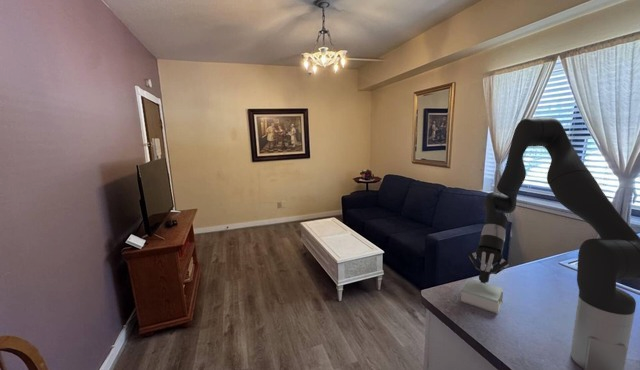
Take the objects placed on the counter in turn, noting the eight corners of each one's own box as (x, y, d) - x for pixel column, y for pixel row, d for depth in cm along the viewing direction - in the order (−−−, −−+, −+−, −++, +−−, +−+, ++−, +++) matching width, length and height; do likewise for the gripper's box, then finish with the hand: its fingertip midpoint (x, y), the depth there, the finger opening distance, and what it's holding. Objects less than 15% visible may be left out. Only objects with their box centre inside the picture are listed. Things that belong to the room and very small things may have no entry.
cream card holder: (502, 301, 92) (503, 290, 92) (497, 314, 86) (498, 303, 85) (467, 289, 100) (467, 280, 99) (460, 301, 93) (460, 290, 93)
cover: (502, 290, 92) (502, 288, 92) (497, 303, 85) (497, 300, 85) (468, 280, 99) (468, 278, 99) (461, 291, 92) (462, 289, 92)
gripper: (471, 230, 101) (460, 272, 94) (513, 238, 92) (505, 285, 85) (473, 239, 106) (464, 280, 99) (514, 247, 97) (506, 292, 90)
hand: (483, 282), depth 92 cm, fingers closed
